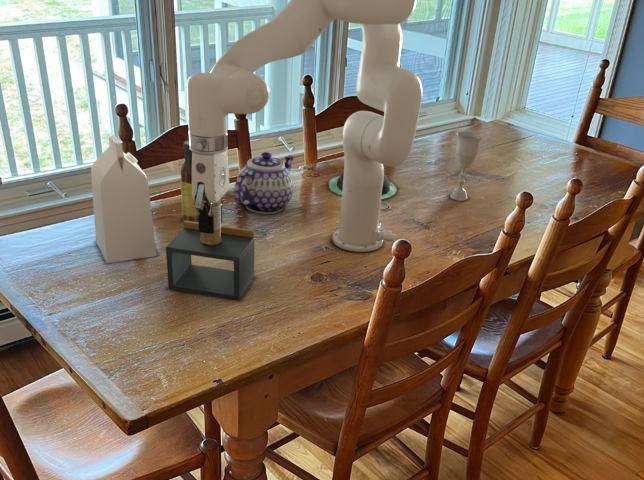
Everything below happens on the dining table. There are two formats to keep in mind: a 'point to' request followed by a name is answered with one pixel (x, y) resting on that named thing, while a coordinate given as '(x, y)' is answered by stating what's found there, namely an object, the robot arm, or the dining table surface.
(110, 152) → the milk
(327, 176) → the dining table surface
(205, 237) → the sprinkles bottle
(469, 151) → the chalice
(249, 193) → the teapot
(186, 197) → the sauce bottle
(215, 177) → the robot arm
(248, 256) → the shelf
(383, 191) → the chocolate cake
